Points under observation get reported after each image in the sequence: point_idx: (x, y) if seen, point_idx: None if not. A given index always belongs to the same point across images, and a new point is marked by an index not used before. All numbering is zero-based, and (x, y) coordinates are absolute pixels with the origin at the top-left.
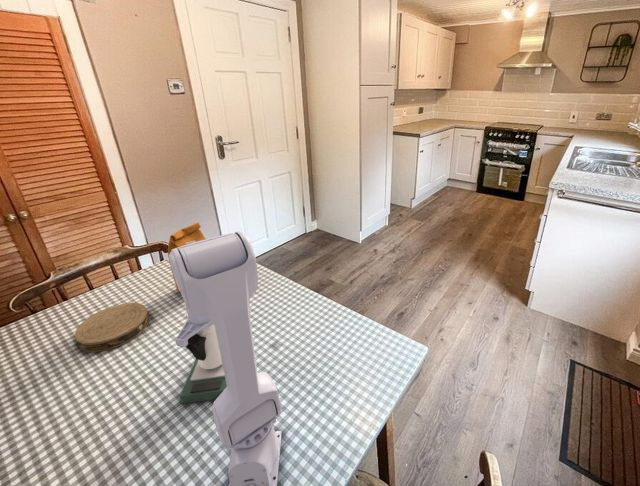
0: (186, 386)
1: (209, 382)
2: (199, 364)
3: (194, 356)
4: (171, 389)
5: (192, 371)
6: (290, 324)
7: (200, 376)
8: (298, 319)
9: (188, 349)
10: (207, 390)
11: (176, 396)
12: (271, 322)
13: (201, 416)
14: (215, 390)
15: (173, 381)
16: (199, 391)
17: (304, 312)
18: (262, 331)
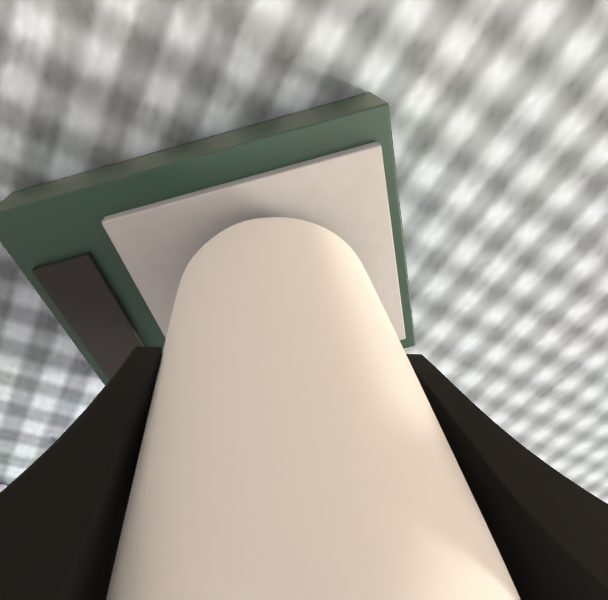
0: (63, 213)
1: (130, 334)
2: (184, 275)
3: (121, 367)
4: (65, 43)
5: (181, 176)
6: (542, 427)
7: (147, 270)
8: (565, 441)
9: (47, 452)
10: (86, 345)
11: (37, 123)
12: (581, 356)
13: (8, 327)
14: (104, 375)
15: (126, 7)
16: (64, 310)
17: (604, 446)
18: (525, 344)
